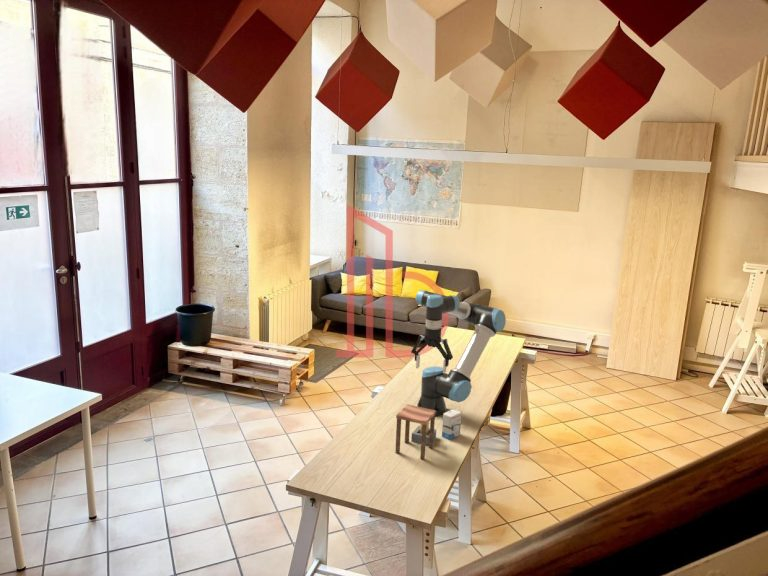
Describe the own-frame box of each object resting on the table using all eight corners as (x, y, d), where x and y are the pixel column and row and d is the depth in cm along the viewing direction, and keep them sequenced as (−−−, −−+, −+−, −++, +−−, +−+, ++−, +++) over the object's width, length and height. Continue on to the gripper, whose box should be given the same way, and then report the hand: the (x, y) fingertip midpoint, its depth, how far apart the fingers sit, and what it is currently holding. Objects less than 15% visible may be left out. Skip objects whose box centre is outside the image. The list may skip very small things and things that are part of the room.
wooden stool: (405, 440, 281) (407, 404, 277) (433, 447, 275) (435, 410, 271) (394, 452, 269) (396, 415, 265) (423, 460, 264) (425, 421, 260)
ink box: (449, 440, 283) (450, 417, 280) (441, 436, 287) (442, 413, 284) (460, 434, 289) (462, 412, 286) (452, 431, 292) (453, 408, 290)
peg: (418, 440, 282) (419, 412, 279) (421, 436, 286) (422, 409, 282) (426, 442, 280) (427, 414, 277) (429, 438, 284) (430, 411, 281)
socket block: (418, 433, 289) (418, 425, 288) (435, 437, 285) (436, 429, 284) (411, 441, 281) (411, 433, 280) (429, 445, 277) (429, 437, 276)
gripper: (405, 325, 283) (403, 367, 288) (456, 333, 274) (453, 377, 278) (411, 321, 290) (409, 363, 295) (461, 329, 280) (458, 372, 285)
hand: (431, 370), depth 287 cm, fingers open, 13 cm apart
